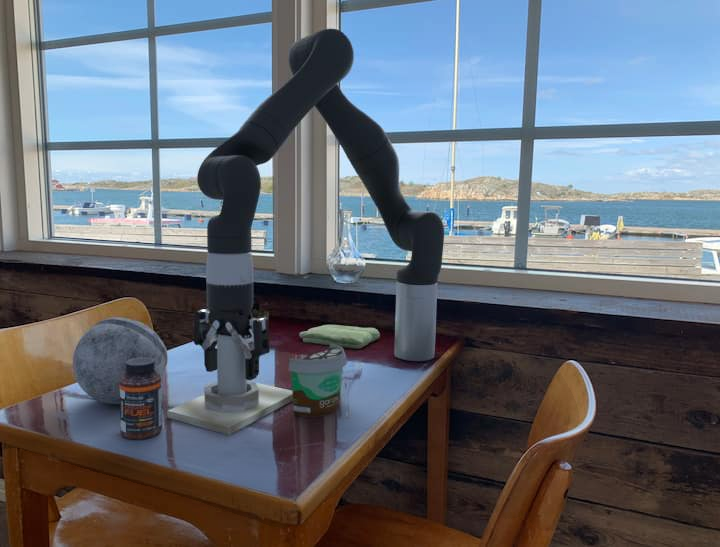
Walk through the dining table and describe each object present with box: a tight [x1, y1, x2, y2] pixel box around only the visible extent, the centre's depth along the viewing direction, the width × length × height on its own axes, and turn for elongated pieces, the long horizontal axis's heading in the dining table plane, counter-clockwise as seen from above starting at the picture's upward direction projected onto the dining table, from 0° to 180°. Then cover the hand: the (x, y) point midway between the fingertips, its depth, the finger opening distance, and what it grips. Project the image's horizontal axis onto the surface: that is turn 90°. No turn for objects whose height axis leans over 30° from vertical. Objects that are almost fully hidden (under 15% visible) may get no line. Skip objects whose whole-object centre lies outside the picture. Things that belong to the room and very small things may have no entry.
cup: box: [250, 309, 270, 332], centre depth 134 cm, size 8×7×8 cm
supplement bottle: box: [119, 357, 163, 440], centre depth 84 cm, size 6×6×11 cm
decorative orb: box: [72, 316, 168, 405], centre depth 96 cm, size 15×14×15 cm
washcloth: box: [299, 324, 381, 350], centre depth 141 cm, size 13×18×3 cm
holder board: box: [167, 380, 293, 436], centre depth 95 cm, size 18×13×4 cm
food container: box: [288, 343, 348, 418], centre depth 94 cm, size 12×6×10 cm, turn 148°
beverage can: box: [216, 333, 248, 396], centre depth 94 cm, size 5×5×12 cm
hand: (231, 374), depth 94 cm, fingers open, 8 cm apart
